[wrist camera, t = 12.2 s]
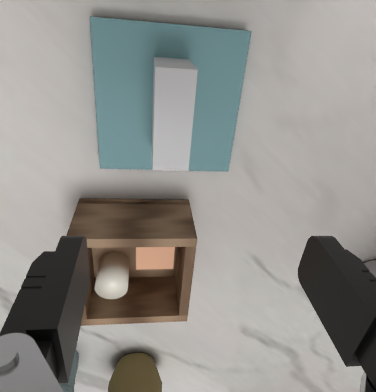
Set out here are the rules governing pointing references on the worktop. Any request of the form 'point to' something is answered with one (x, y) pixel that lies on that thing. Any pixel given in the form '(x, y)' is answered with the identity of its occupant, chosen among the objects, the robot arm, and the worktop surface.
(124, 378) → the squeeze bottle
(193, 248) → the walnut box
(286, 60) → the worktop surface
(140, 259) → the peach cube
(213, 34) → the lid
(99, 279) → the cream cylinder
